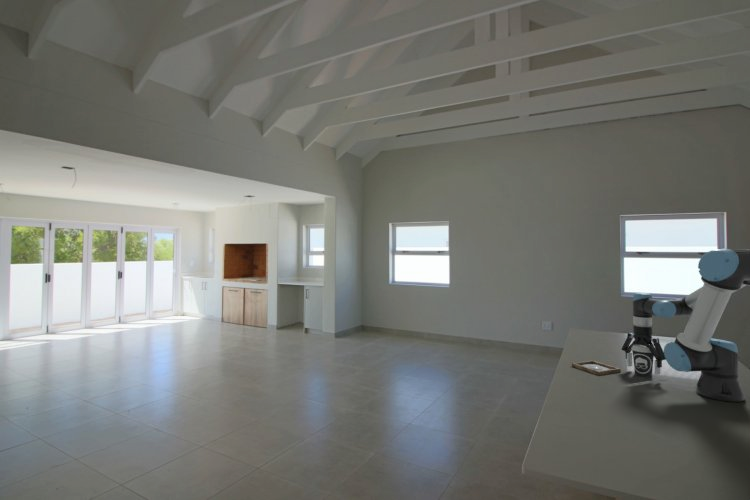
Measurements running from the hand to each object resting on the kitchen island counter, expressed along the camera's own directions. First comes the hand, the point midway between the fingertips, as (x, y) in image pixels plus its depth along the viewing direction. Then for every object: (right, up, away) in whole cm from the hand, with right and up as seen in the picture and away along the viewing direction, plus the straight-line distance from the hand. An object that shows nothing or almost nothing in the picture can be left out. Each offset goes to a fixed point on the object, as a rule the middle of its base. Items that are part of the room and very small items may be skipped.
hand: (643, 370), depth 189 cm
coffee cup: (0, -4, 0) cm, 4 cm away
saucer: (-17, -2, +10) cm, 20 cm away
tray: (-17, -4, +10) cm, 20 cm away
